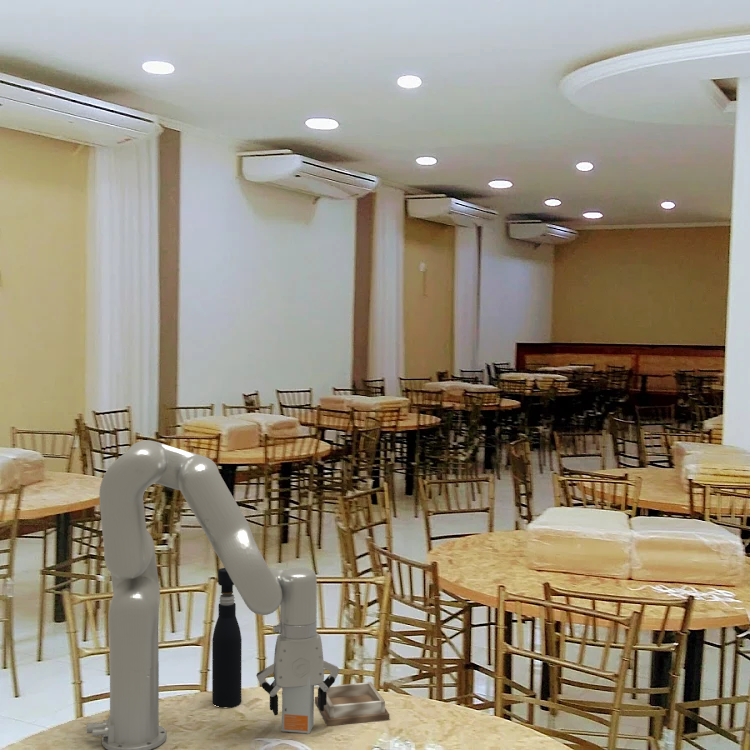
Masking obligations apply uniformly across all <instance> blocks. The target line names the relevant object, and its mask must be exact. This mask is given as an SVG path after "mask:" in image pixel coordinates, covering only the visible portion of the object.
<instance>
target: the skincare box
mask: <svg viewBox="0 0 750 750" xmlns="http://www.w3.org/2000/svg"><path fill="white" fill-rule="evenodd" d="M310 681H311V678H310V677H308V680H307V686H303V687H294V688H281V689H282V690H281V691H282V695H281V696H282V697H281V698H282V699H281V702H282V703H281V732H283V733H284V732H287V733H288V732H289V733H297V734H298V733H300V734H310V733H311V731H312V729H313V728H314V725H315V724H314V721H315V720H314V719H315V716H314V714H315V713H314V711H315V710H314V708H315V707H314V706H315V686H311V685H310Z"/></svg>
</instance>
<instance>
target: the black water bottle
mask: <svg viewBox="0 0 750 750" xmlns="http://www.w3.org/2000/svg"><path fill="white" fill-rule="evenodd" d="M217 571H218V573H217V574H218V575H217V577H218V581H217V583H218V585H219V586H221V587H220V588H221V590H220V591H221V592H220V593H221V595H219V603H218V616H217V620H216V622H215V626H214V629H213V634H212V640H211V641H212V645H211V646H212V649H211V651H212V661H211V663H212V664H211V665H212V666H211V667H212V674H211V676H212V677H211V678H212V682H211V684H212V689H211V690H212V691H211V692H212V694H211V695H212V696H211V697H212V699H211V700H212V701H211V703H212V705H213V704H214V705H216V706H219V707H231V708H235V707H237V705H238V706H239V705H241V704H242V647H243V646H242V639H243V638H242V635H241V628H240V624H239V622H238V619H237V616H236V614H237V613H236V611H237V607H236V603H235V599H236V598H235V595H234V594H233V593H234V586H235V585H234V583H233V581H232V580H231V578H230V576H229V574H228V572H227V571H226V569H225V567H221V568H219V569H218V570H217ZM214 705H213V706H214ZM216 706H215V707H216ZM234 706H235V707H234ZM219 707H218V708H219Z"/></svg>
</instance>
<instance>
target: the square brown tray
mask: <svg viewBox="0 0 750 750" xmlns="http://www.w3.org/2000/svg"><path fill="white" fill-rule="evenodd" d="M314 704H315V705H316V707H317V709H318V710H319V714H320V716H321V717H322V719H323V721H324V723H325V724H326V726H327V727H328V726H331V727H332V726H341V725H350V724H360V723H369V722H370V723H371V722H380V721H381V722H382V721H383V722H384V721H390V713H389V712H388V710H387V709H386V701H385V700H384V698H383V697H382V696H381V694H380V693H379V691H378V690H377V688H376V687H375V685H374V684H373V683H372V681H370V682H359V683H356V682H355V683H346V684H335V685H333V684H332V685H331V686H330V687H329V689H328V691H327V704H326V705H324V711H320V709H319V707H318V696H314Z"/></svg>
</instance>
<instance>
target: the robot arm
mask: <svg viewBox="0 0 750 750" xmlns="http://www.w3.org/2000/svg"><path fill="white" fill-rule="evenodd" d="M220 473H221V472H220V471H219V468H218V466H217V464H216V463H215V462H214V461H213V460H212V459H211V458H209V457H207V456H204V455H201V454H198V453H195V452H190V451H187V450H184V449H180V448H177V447H174V446H170V445H167V444H165V443H161V442H159V441H155V440H149V439H147V440H145V439H144V440H140V441H137V442H135V443H133V444H131V446H129V448H128V450H127V451H126V452H124V453H123V454H122V455H120V456H119V457H118V458H117V459H116V460H114V461H113V463H111V464H110V466H109V467H108V468H107V470H106V472H105V473H104V475H103V477H102V480H101V483H100V486H99V493H98V494H99V496H98V497H99V509H100V519H101V520H100V522H101V532H102V542H103V551H104V552H103V557H104V562H105V566H106V567H107V570H108V571H109V573H110V578H111V579H110V580H111V585H112V593H113V595H112V597H111V601H110V603H109V609H108V616H107V617H108V638H109V640H108V641H109V715H108V719H106V720H104V719H103V721H102V722H89V723H88V722H87V723H86V734H92V737H101V736H102V738H101V744H102V746H103V748H105V749H106V750H153V749H156V748H158V747H160V746H161V745H162V744H164V742H165V741H167V740H166V739H167V734H168V733H167V730H166V728H165V727H163V726H161V725H160V722H159V720H160V719H159V717H160V715H159V714H160V712H159V710H160V709H159V708H160V707H159V706H160V703H159V702H160V701H159V699H160V698H159V697H160V694H159V693H160V691H159V690H160V689H159V688H160V687H159V685H160V681H159V679H160V675H159V673H160V672H159V671H160V669H159V668H160V664H159V662H160V661H159V659H160V658H159V653H160V652H159V651H160V649H159V623H160V622H159V621H160V619H159V618H160V617H159V616H160V603H161V590H160V583H159V581H160V580H159V574H158V573H159V572H158V566H157V559H156V548H155V543H154V539H153V535H151V533H150V532H149V530H147V523H146V511H145V506H144V494H145V492H146V490H147V489H148V488H149V487H151V486H152V485H154V484H157V485H160V486H163V487H166V488H170V489H173V490H177V491H180V493H181V495H182V496H183V498H184V500H185V501H186V503H187V505H188V507H189V508H190V510H191V512H192V513H193V514H194V516H195V518H196V519H197V521H198V524H199V526H201V529H202V531H203V533H204V534H205V536H206V538H207V539H208V542H209V543H210V545H211V547H212V550H214V552H215V554H216V555H217V557H218V559H219V561H220V562H221V563H222V565H223V566H224V567H223V568H225V569H226V571H227V572H228V574H229V576H230V578H231V580H232V581H233V583H234V585H233V586H235V588H236V591H237V592H238V593H239V595H240V597H241V598H242V600H243V602H244V604H245V605H246V607H247V608H248V610H250V611H251V612H252V613H254V614H257V615H260V616H267V615H271V614H273V613H275V611H277V610H278V609H279V607H280V612H279V613H280V618H279V619H280V620H279V622H278V624H276V625H273V626H272V627H273V632H274V633H278V635H277V637H276V640H275V648H274V656H273V663H272V664H270V665H269V666H266V668H263V669H262V670H261V671H258V672H257V673H256V679H257V681H258V682H259V684H260V686H261V687H262V689H264V691H265V692H266V693H267V694H268V695H269V710H270V711H272V713H273V715H274V716H278V715H279V695H278V692H279V690H281V689H282V688H294V687H303V686H307V680H308V677H310V678H311V681H310V685H311V686H314V687H315V686H318V688H317V697H318V707H319V709H320V711H324V705H326V704H327V691H328V689H329V687H330V686H333V684H334V683H335V682H336V679H337V677H338V674H339V673H340V668H339V667H338V666H337V665H335V664H332V663H331V662H328V661H326V660H324V650H323V642H322V638H321V637H322V636H321V635H320V634H319V633H318V632H317V627H318V626H317V612H318V609H317V605H318V602H317V601H318V599H317V597H318V596H317V594H318V593H317V590H318V588H317V587H318V586H317V585H318V582H317V581H318V578H317V574H316V572H315V571H314V570H312V569H309V568H305V567H304V568H303V567H296V568H289V569H280V568H271V567H269V566H268V564H267V562H266V561H265V559H264V557H263V555H262V553H261V551H260V549H259V546H258V545H257V542H256V541H255V538H254V535H253V532H252V530H251V526H250V524H249V522H248V520H247V518H246V516H245V515H244V513H243V512H242V510H241V508H240V506H239V505H238V503H237V501H236V500H235V499H234V496H233V495H232V492H231V491H230V489H229V488H228V486H227V484H226V482H225V481H224V479H223V477H222V475H221V474H220ZM325 670H327V671H328V672H330V673H329V675H328V676H327V677H326V678H325ZM271 675H273V679H274V680H273V681H272V683H271V684H270V683H269V682H268V681H267V680H266V678H267V677H268V676H271ZM318 707H317V708H318ZM319 709H318V710H319ZM320 711H319V712H320Z"/></svg>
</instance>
